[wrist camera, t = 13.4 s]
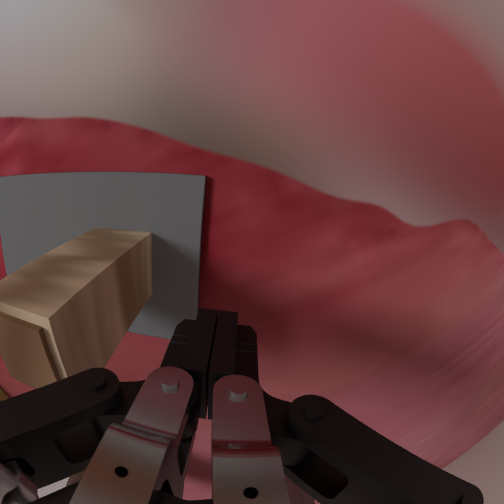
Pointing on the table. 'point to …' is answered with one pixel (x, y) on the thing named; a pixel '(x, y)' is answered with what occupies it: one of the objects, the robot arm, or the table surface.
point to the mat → (113, 217)
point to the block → (74, 304)
